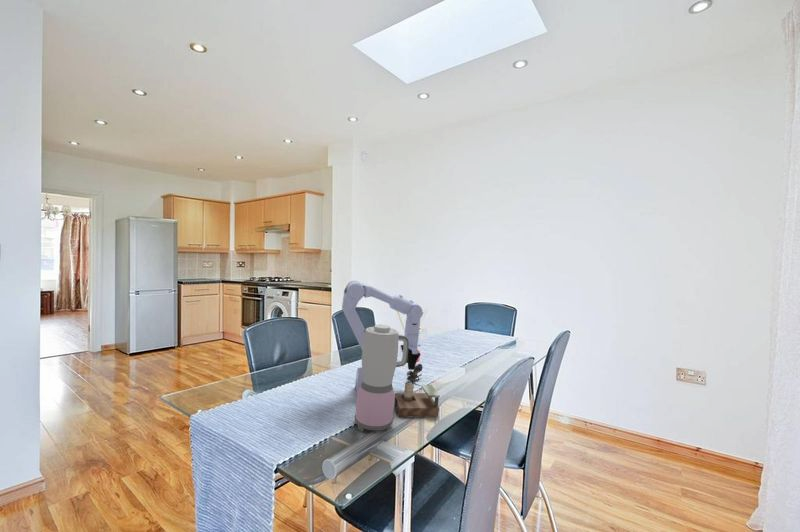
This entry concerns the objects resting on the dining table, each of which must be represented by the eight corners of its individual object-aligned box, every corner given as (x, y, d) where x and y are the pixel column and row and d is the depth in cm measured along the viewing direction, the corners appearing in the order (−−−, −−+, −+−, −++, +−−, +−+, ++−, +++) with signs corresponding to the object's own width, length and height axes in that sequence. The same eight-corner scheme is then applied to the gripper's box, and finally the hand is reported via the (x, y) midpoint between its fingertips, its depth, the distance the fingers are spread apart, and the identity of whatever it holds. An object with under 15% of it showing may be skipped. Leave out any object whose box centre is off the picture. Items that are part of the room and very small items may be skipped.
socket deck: (399, 416, 120) (401, 396, 119) (392, 401, 132) (393, 382, 131) (438, 416, 123) (440, 396, 123) (427, 400, 135) (429, 382, 134)
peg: (412, 408, 127) (414, 386, 127) (403, 407, 127) (405, 386, 127) (411, 404, 131) (413, 383, 130) (402, 403, 130) (404, 382, 130)
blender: (357, 435, 106) (366, 330, 104) (351, 415, 118) (359, 321, 116) (406, 431, 111) (416, 331, 109) (396, 413, 122) (404, 322, 120)
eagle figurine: (426, 381, 151) (426, 370, 160) (418, 368, 150) (418, 358, 158) (410, 388, 152) (411, 377, 161) (402, 375, 151) (403, 364, 160)
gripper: (426, 338, 136) (423, 372, 136) (416, 328, 150) (413, 360, 151) (409, 337, 134) (405, 372, 135) (400, 328, 148) (397, 359, 149)
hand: (408, 366), depth 143 cm, fingers open, 7 cm apart
